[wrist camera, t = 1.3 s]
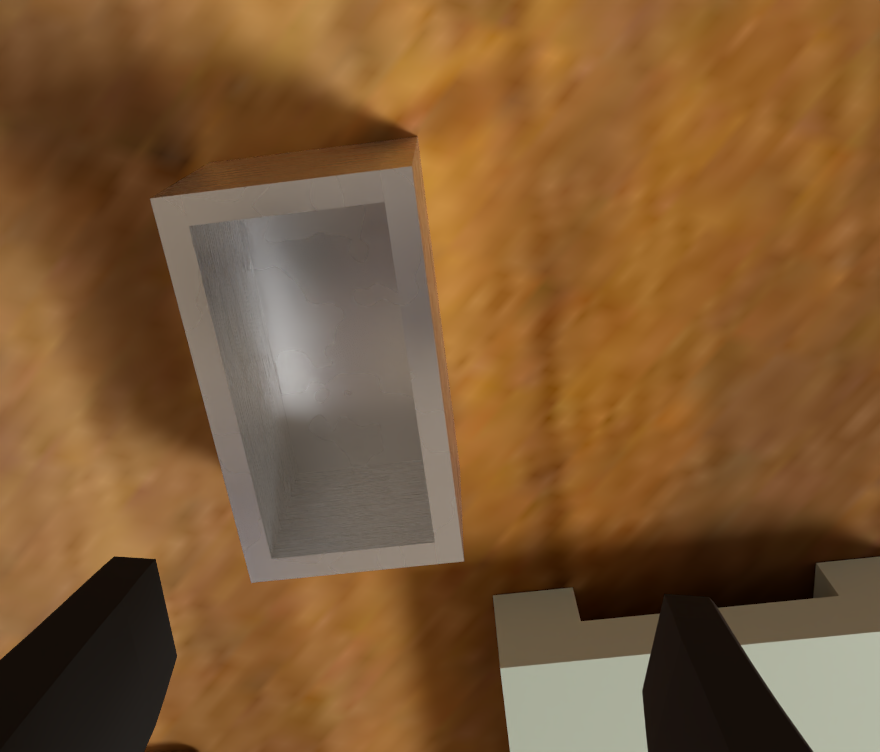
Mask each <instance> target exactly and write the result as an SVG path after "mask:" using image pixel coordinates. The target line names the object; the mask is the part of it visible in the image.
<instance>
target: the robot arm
mask: <svg viewBox="0 0 880 752" xmlns="http://www.w3.org/2000/svg"><path fill="white" fill-rule="evenodd" d="M176 658H177V654H176V649H175V645H174V640H173V636H172V631H171V627H170V622H169V617H168V613H167V608H166V604H165V599H164V595H163V590H162V586H161V581H160V577H159V572H158V568H157V563H156V559H144V558H129V557H113V558H112V559H111V560H110V561H109V562H107V563H106V564H105V565H104V566H103V567H102V568H101V569H100V570H99V571H97V572H96V573H95V574H94V575H93V576H92V577H91V578H90V579H89V580H88V581H86V582H85V583H84V584H83V585H82V586H81V587H80V588H79V589H78V590H77V591H76V592H75V593H73V594H72V595H71V596H70V597H69V598H68V599H67V600H66V601H65V602H64V603H63V604H62V605H61V606H59V607H58V608H57V609H56V610H55V611H54V612H53V613H52V614H51V615H50V616H49V617H48V618H46V619H45V620H44V621H43V622H42V623H41V624H40V625H39V626H38V627H37V628H36V629H34V630H33V631H32V632H31V633H30V634H29V635H28V636H27V637H26V638H24V639H23V640H22V641H21V642H20V643H19V644H18V645H17V646H15V647H14V648H13V649H12V650H11V651H10V652H9V653H8V654H6V655H5V656H4V657H3V658H2V659H1V660H0V752H144V751H145V748H146V746H147V744H148V742H149V739H150V737H151V735H152V732H153V730H154V728H155V725H156V722H157V719H158V716H159V713H160V710H161V707H162V704H163V701H164V698H165V695H166V691H167V688H168V685H169V681H170V678H171V675H172V671H173V668H174V665H175V661H176ZM642 696H643V707H644V718H645V729H646V738H647V748H648V752H813V750H812V749H811V748H810V746H809V745H808V743H807V742H806V741H805V739H804V738H803V736H802V735H801V734H800V732H799V731H798V729H797V728H796V727H795V725H794V724H793V722H792V721H791V720H790V718H789V717H788V715H787V714H786V712H785V711H784V710H783V708H782V707H781V705H780V704H779V702H778V701H777V700H776V698H775V697H774V695H773V694H772V692H771V691H770V689H769V688H768V686H767V685H766V683H765V682H764V680H763V679H762V677H761V676H760V674H759V673H758V671H757V670H756V668H755V667H754V665H753V663H752V662H751V660H750V659H749V657H748V656H747V654H746V653H745V651H744V649H743V648H742V646H741V645H740V643H739V642H738V640H737V638H736V637H735V635H734V634H733V632H732V630H731V629H730V627H729V625H728V624H727V622H726V621H725V619H724V617H723V616H722V614H721V612H720V611H719V609H718V607H717V606H716V604H715V603H714V602H713V601H712V600H711V599H710V597H702V596H687V595H672V594H664V598H663V602H662V606H661V611H660V615H659V619H658V624H657V628H656V632H655V637H654V641H653V645H652V650H651V654H650V658H649V663H648V667H647V672H646V676H645V680H644V685H643V689H642Z"/></svg>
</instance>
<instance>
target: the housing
mask: <svg viewBox="0 0 880 752" xmlns="http://www.w3.org/2000/svg"><path fill="white" fill-rule="evenodd" d="M150 201H151V204H152V208H153V212H154V216H155V220H156V223H157V227H158V231H159V235H160V238H161V242H162V246H163V250H164V254H165V257H166V261H167V265H168V269H169V273H170V276H171V280H172V284H173V288H174V292H175V295H176V299H177V303H178V307H179V310H180V314H181V318H182V322H183V326H184V329H185V333H186V337H187V341H188V345H189V348H190V352H191V356H192V360H193V364H194V367H195V371H196V375H197V379H198V382H199V386H200V390H201V394H202V398H203V401H204V405H205V409H206V413H207V417H208V420H209V424H210V428H211V432H212V436H213V439H214V443H215V447H216V451H217V455H218V458H219V462H220V466H221V470H222V473H223V477H224V481H225V485H226V489H227V492H228V496H229V500H230V504H231V508H232V511H233V515H234V519H235V523H236V527H237V530H238V534H239V538H240V542H241V545H242V549H243V553H244V557H245V561H246V564H247V568H248V572H249V576H250V580H251V583H253V582H263V581H273V580H283V579H293V578H303V577H313V576H323V575H333V574H343V573H353V572H363V571H373V570H383V569H393V568H403V567H413V566H423V565H433V564H443V563H453V562H463V561H464V549H463V528H462V506H461V484H460V465H459V457H458V450H457V442H456V434H455V426H454V418H453V410H452V402H451V395H450V387H449V379H448V371H447V363H446V355H445V347H444V340H443V332H442V324H441V316H440V308H439V300H438V293H437V285H436V277H435V269H434V261H433V253H432V245H431V238H430V230H429V222H428V214H427V206H426V198H425V190H424V183H423V175H422V167H421V159H420V151H419V143H418V136H416V137H408V138H400V139H392V140H385V141H377V142H369V143H361V144H353V145H345V146H337V147H329V148H321V149H313V150H305V151H297V152H289V153H281V154H273V155H265V156H257V157H249V158H241V159H234V160H226V161H218V162H210V163H208V164H206V165H205V166H203V167H201V168H200V169H198V170H196V171H195V172H193V173H191V174H190V175H188V176H186V177H185V178H183V179H181V180H180V181H178V182H176V183H175V184H173V185H172V186H170V187H168V188H167V189H165V190H163V191H162V192H160V193H158V194H157V195H155V196H153V197H152V198H150Z"/></svg>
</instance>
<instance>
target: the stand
mask: <svg viewBox="0 0 880 752" xmlns="http://www.w3.org/2000/svg"><path fill="white" fill-rule="evenodd" d="M493 602H494V612H495V622H496V632H497V642H498V652H499V662H500V671H501V680H502V688H503V697H504V705H505V713H506V722H507V730H508V739H509V747H510V752H648V748H647V738H646V729H645V718H644V707H643V696H642V689H643V685H644V680H645V676H646V672H647V667H648V663H649V658H650V654H651V650H652V645H653V641H654V637H655V632H656V628H657V624H658V619H659V615H660V614H650V615H640V616H630V617H620V618H610V619H600V620H590V621H581V620H580V616H579V612H578V608H577V603H576V599H575V595H574V591H573V587H572V588H562V589H552V590H542V591H532V592H522V593H512V594H503V595H493ZM718 609H719V611H720V612H721V614H722V616H723V617H724V619H725V621H726V622H727V624H728V625H729V627H730V629H731V630H732V632H733V634H734V635H735V637H736V638H737V640H738V642H739V643H740V645H741V646H742V648H743V649H744V651H745V653H746V654H747V656H748V657H749V659H750V660H751V662H752V663H753V665H754V667H755V668H756V670H757V671H758V673H759V674H760V676H761V677H762V679H763V680H764V682H765V683H766V685H767V686H768V688H769V689H770V691H771V692H772V694H773V695H774V697H775V698H776V700H777V701H778V702H779V704H780V705H781V707H782V708H783V710H784V711H785V712H786V714H787V715H788V717H789V718H790V720H791V721H792V722H793V724H794V725H795V727H796V728H797V729H798V731H799V732H800V734H801V735H802V736H803V738H804V739H805V741H806V742H807V743H808V745H809V746H810V748H811V749H812V750H813V752H880V557H870V558H860V559H850V560H840V561H831V562H821V563H816V569H815V582H814V595H813V598H812V599H802V600H792V601H782V602H772V603H762V604H752V605H742V606H731V607H721V608H718Z"/></svg>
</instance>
